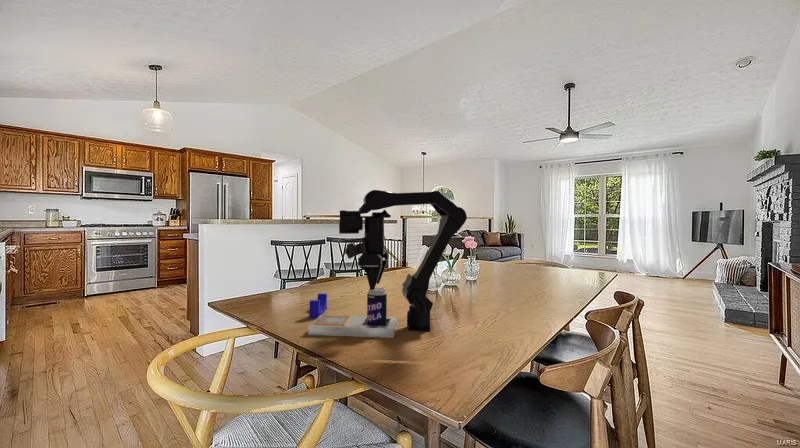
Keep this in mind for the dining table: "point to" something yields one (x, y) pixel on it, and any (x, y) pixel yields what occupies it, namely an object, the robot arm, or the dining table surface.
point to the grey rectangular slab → (351, 326)
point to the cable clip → (318, 306)
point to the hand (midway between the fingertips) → (374, 286)
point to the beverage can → (376, 307)
